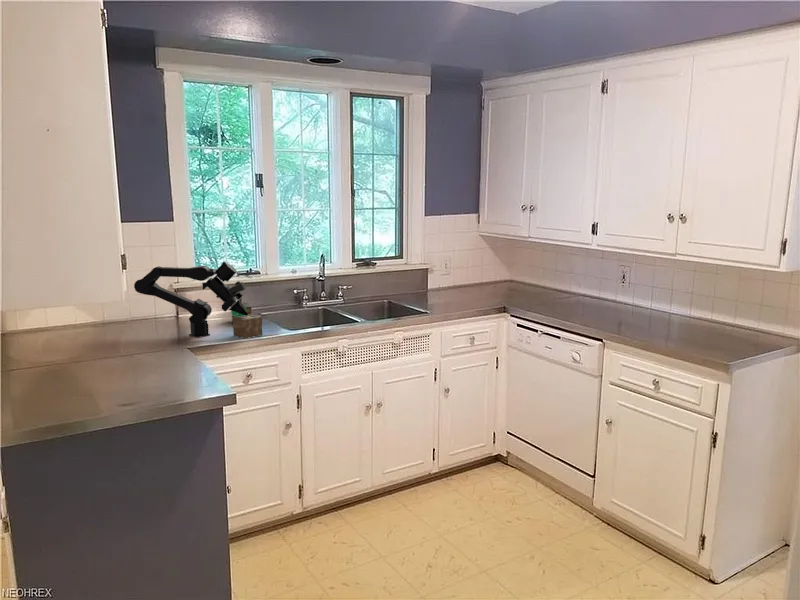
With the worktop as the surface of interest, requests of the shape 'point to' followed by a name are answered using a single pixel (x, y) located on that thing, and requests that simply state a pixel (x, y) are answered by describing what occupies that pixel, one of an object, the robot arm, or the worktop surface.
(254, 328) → the walnut block
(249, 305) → the food container
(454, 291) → the worktop surface
